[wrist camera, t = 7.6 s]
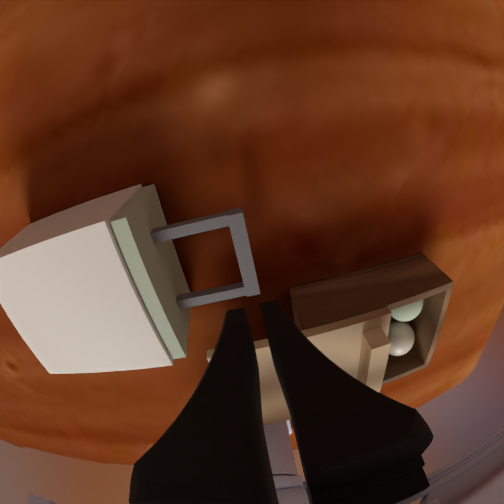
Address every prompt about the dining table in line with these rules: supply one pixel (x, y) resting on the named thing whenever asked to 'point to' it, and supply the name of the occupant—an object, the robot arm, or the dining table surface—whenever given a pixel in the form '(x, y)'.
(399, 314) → the pale green ball
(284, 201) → the dining table surface
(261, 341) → the box lid
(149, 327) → the white cabinet
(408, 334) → the ivory ball
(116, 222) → the drawer
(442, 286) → the walnut box
